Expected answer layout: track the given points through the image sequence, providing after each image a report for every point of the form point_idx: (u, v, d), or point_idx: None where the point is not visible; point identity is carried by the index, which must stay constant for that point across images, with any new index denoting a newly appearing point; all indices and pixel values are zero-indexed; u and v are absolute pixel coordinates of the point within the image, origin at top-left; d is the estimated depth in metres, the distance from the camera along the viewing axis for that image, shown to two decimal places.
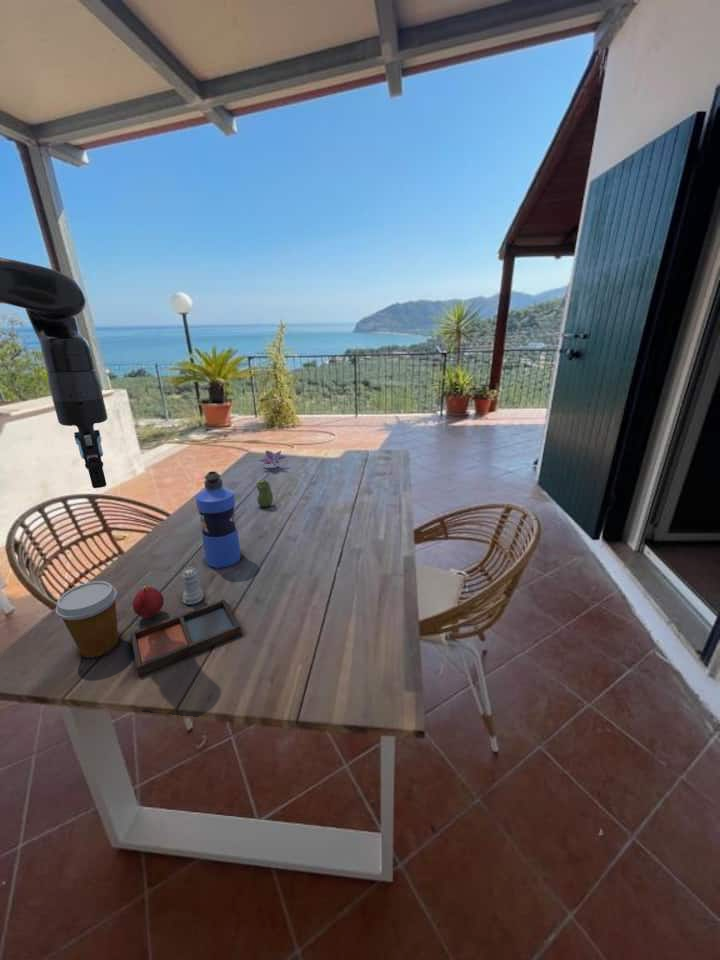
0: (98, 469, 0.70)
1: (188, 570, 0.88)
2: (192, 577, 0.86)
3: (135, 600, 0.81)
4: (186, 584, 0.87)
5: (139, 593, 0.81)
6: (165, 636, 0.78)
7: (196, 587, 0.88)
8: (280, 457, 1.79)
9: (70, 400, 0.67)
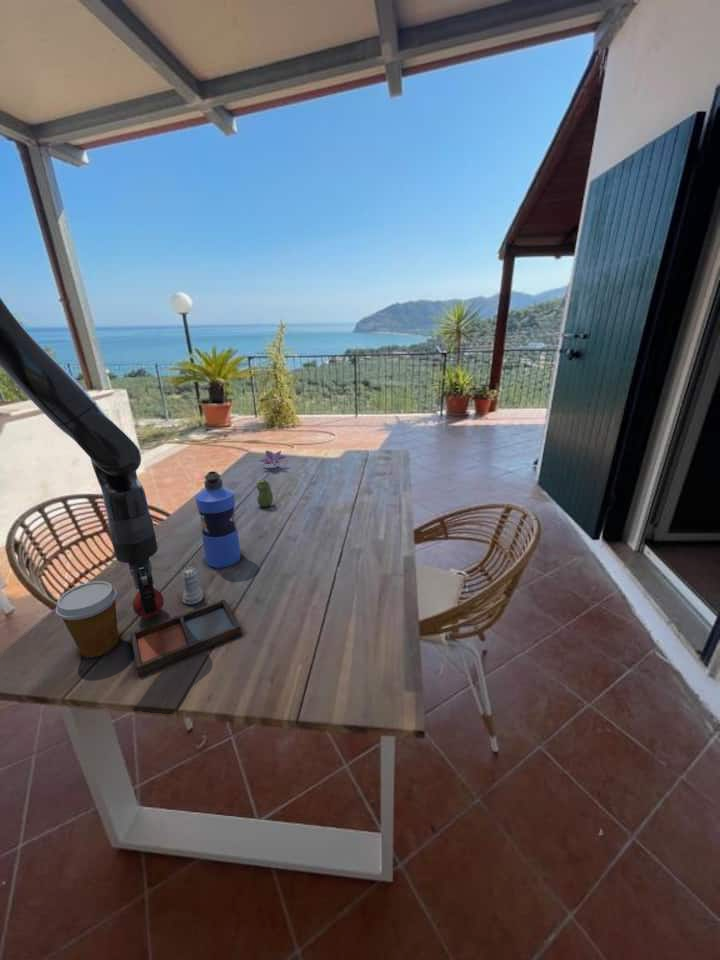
0: (150, 598, 0.79)
1: (188, 570, 0.88)
2: (192, 577, 0.86)
3: (135, 600, 0.81)
4: (186, 584, 0.87)
5: (139, 593, 0.81)
6: (165, 636, 0.78)
7: (196, 587, 0.88)
8: (280, 457, 1.79)
9: (128, 543, 0.74)
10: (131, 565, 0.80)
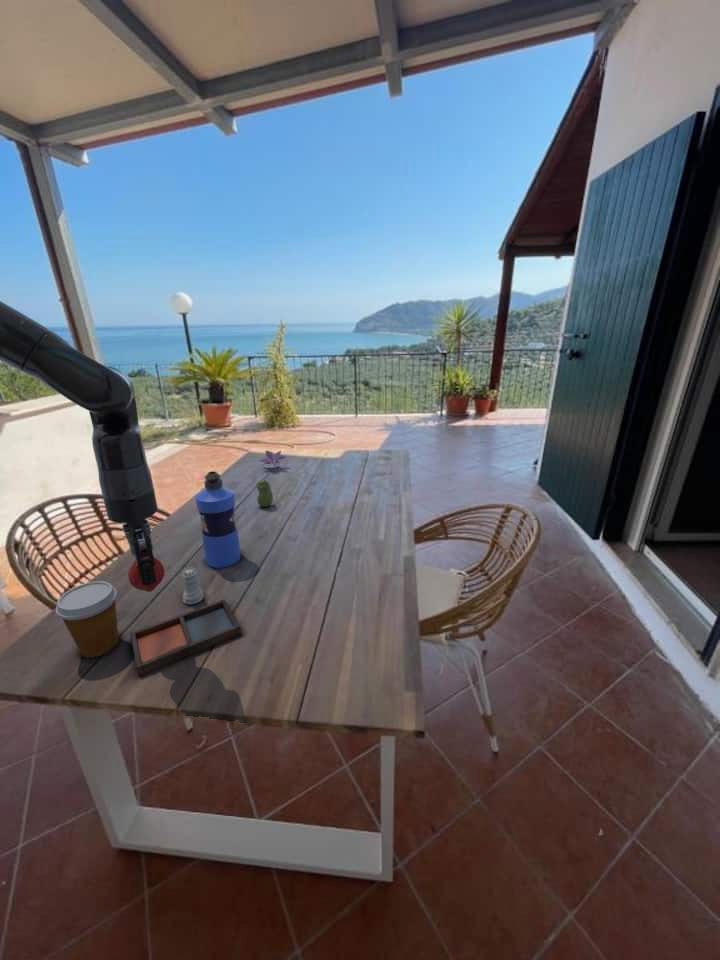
0: (149, 567, 0.67)
1: (188, 570, 0.88)
2: (192, 577, 0.86)
3: (131, 570, 0.69)
4: (186, 584, 0.87)
5: (136, 562, 0.69)
6: (165, 636, 0.78)
7: (196, 587, 0.88)
8: (280, 457, 1.79)
9: (122, 498, 0.62)
10: (126, 528, 0.68)
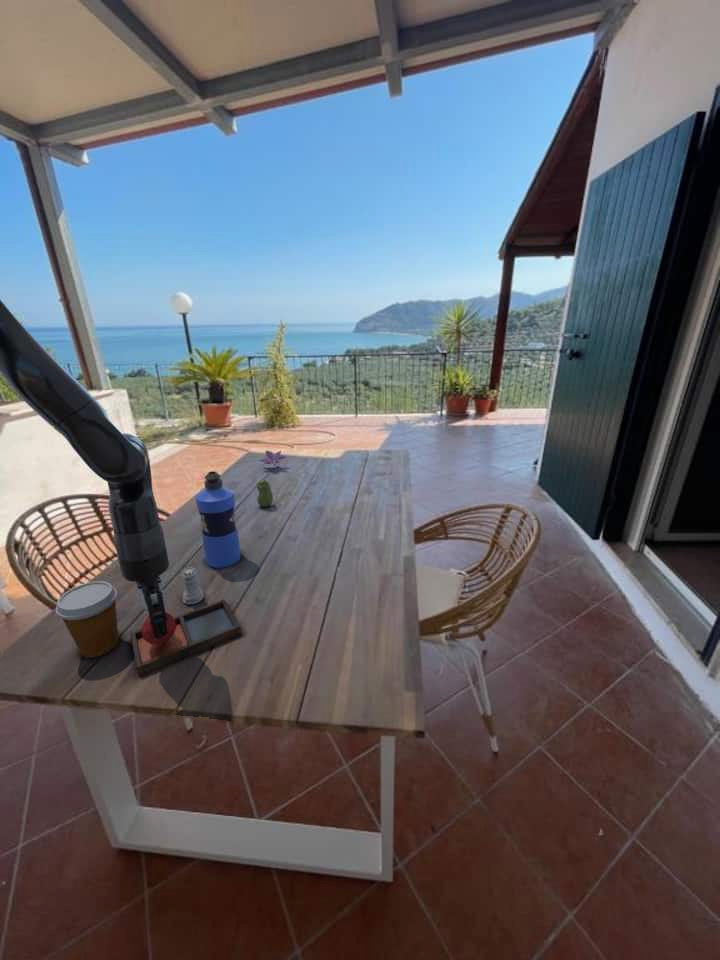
0: None
1: (188, 570, 0.88)
2: (192, 577, 0.86)
3: (145, 626, 0.72)
4: (186, 584, 0.87)
5: (149, 618, 0.73)
6: None
7: (196, 587, 0.88)
8: (280, 457, 1.79)
9: (137, 559, 0.65)
10: (139, 583, 0.71)
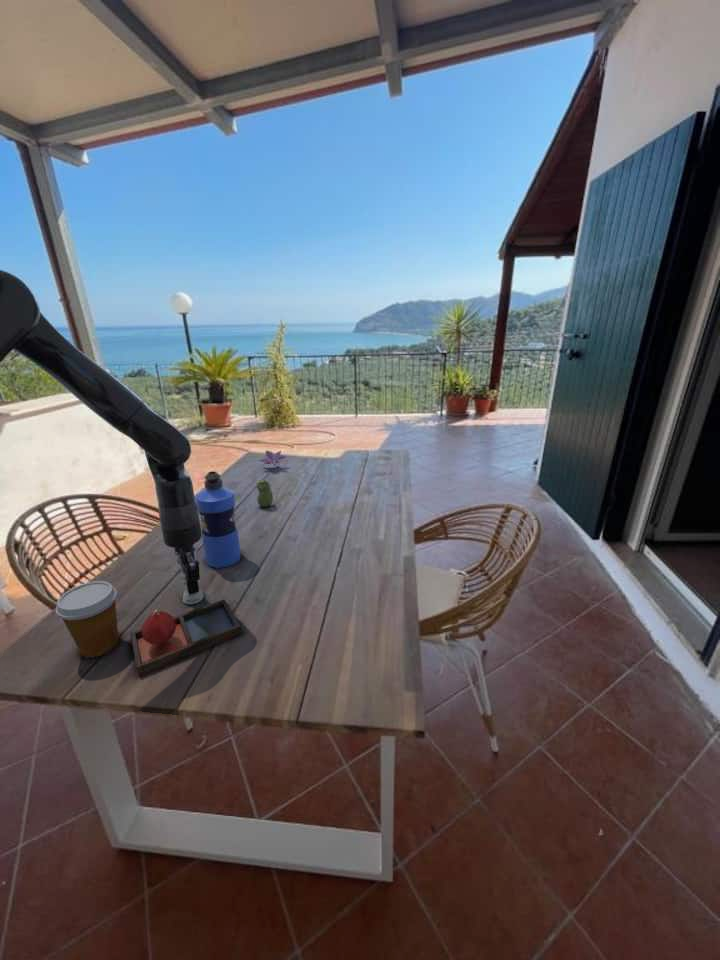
0: (194, 580, 0.85)
1: None
2: None
3: (145, 626, 0.72)
4: (186, 584, 0.87)
5: (149, 618, 0.73)
6: None
7: None
8: (280, 457, 1.79)
9: (178, 529, 0.80)
10: (177, 550, 0.85)
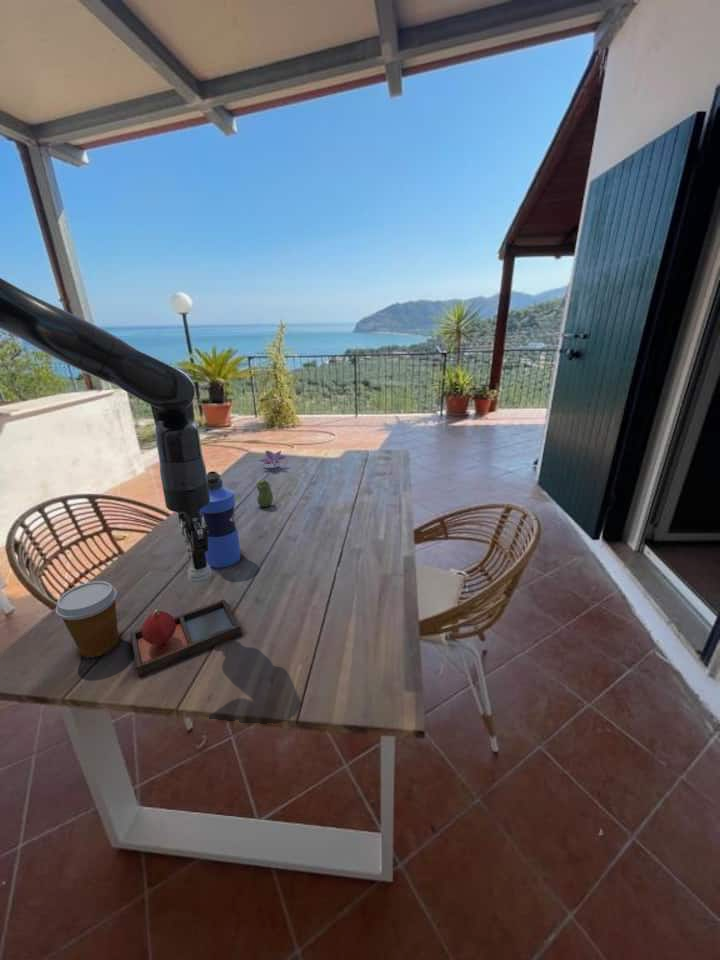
0: (202, 552, 0.73)
1: None
2: None
3: (145, 626, 0.72)
4: (192, 558, 0.75)
5: (149, 618, 0.73)
6: None
7: None
8: (280, 457, 1.79)
9: (182, 489, 0.67)
10: (181, 517, 0.72)
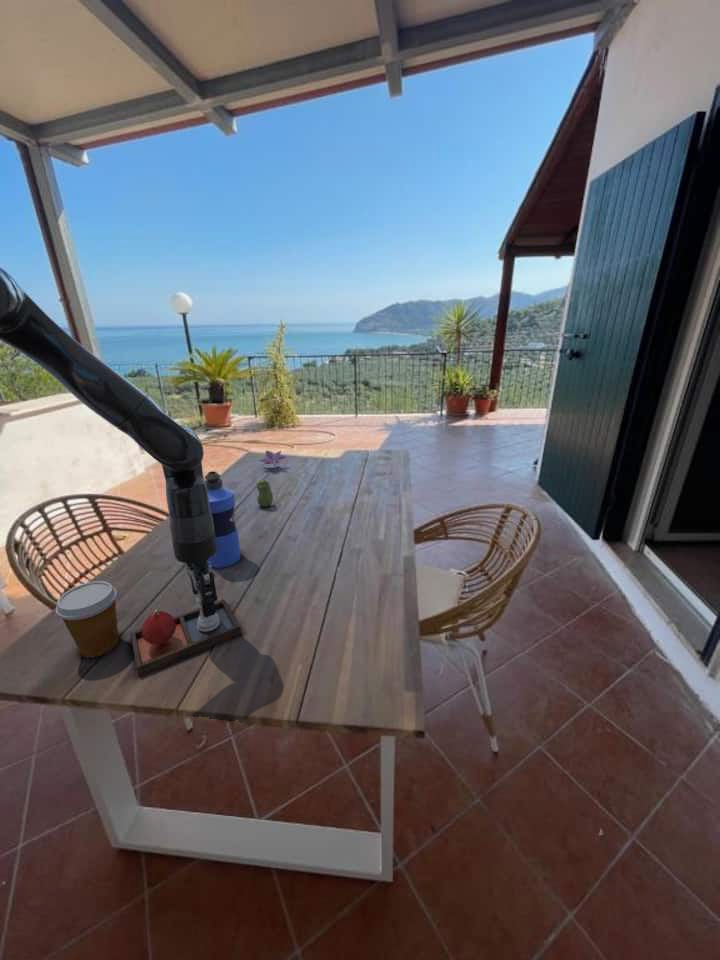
0: None
1: None
2: None
3: (145, 626, 0.72)
4: (201, 609, 0.78)
5: (149, 618, 0.73)
6: None
7: None
8: (280, 457, 1.79)
9: (191, 542, 0.70)
10: (189, 566, 0.76)
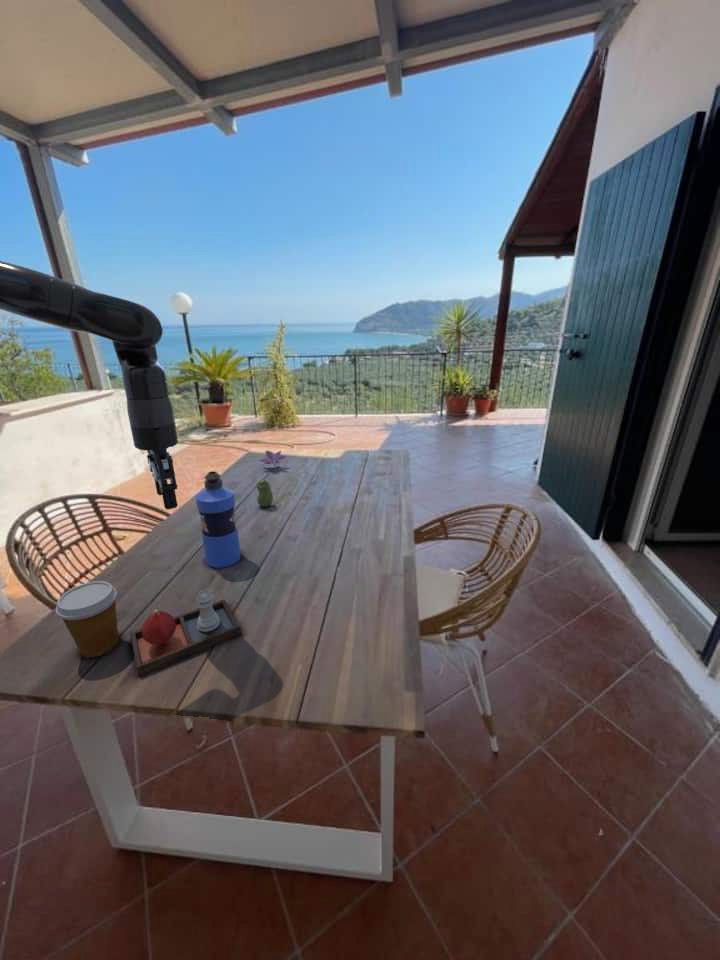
0: (171, 491, 0.73)
1: (203, 594, 0.78)
2: (207, 601, 0.77)
3: (145, 626, 0.72)
4: (201, 609, 0.78)
5: (149, 618, 0.73)
6: None
7: (212, 612, 0.79)
8: (280, 457, 1.79)
9: (148, 426, 0.69)
10: None
